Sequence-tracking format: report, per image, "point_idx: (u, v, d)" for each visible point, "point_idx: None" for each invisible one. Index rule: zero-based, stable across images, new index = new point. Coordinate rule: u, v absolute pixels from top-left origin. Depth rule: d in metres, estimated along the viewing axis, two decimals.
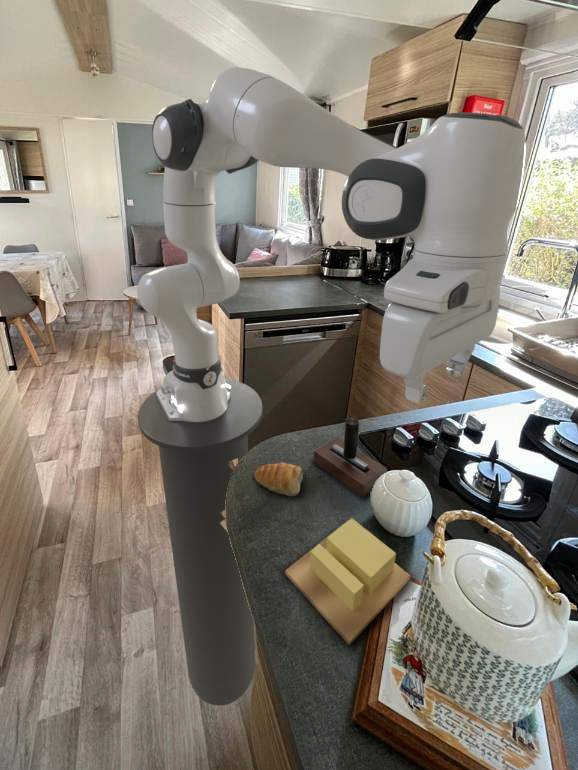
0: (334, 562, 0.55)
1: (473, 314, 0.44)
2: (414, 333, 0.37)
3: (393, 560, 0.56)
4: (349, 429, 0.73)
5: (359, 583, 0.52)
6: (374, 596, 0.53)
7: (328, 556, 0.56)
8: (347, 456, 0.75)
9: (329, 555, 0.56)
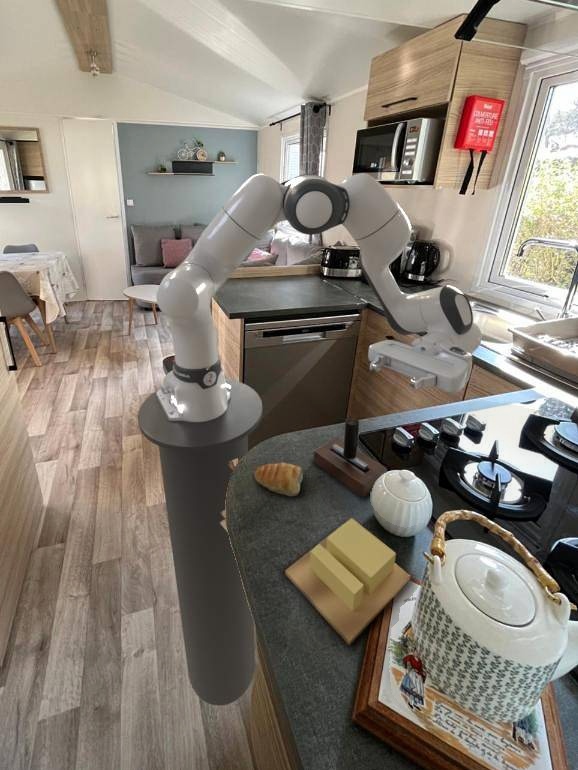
0: (334, 562, 0.55)
1: None
2: (465, 382, 0.75)
3: (393, 560, 0.56)
4: (349, 429, 0.73)
5: (359, 583, 0.52)
6: (374, 596, 0.53)
7: (328, 556, 0.56)
8: (347, 456, 0.75)
9: (329, 555, 0.56)
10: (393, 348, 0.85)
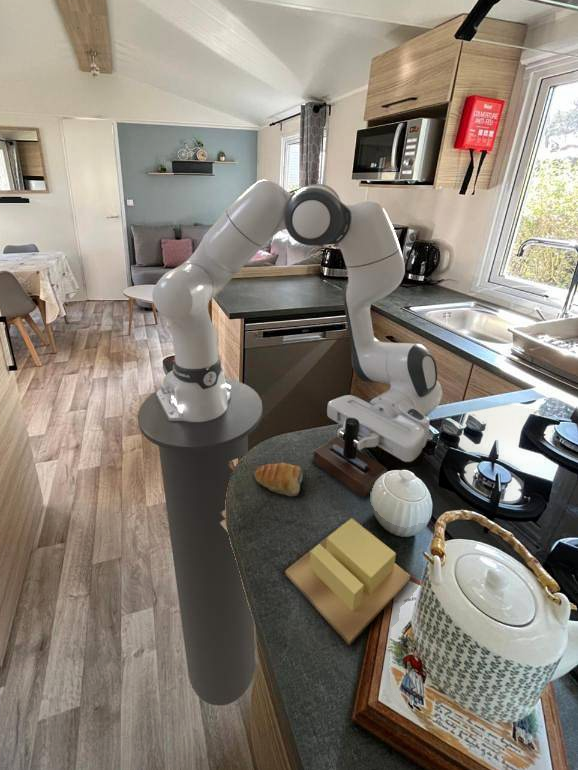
0: (334, 562, 0.55)
1: None
2: (421, 449, 0.73)
3: (393, 560, 0.56)
4: (349, 429, 0.73)
5: (359, 583, 0.52)
6: (374, 596, 0.53)
7: (328, 556, 0.56)
8: (347, 456, 0.75)
9: (329, 555, 0.56)
10: (352, 406, 0.82)
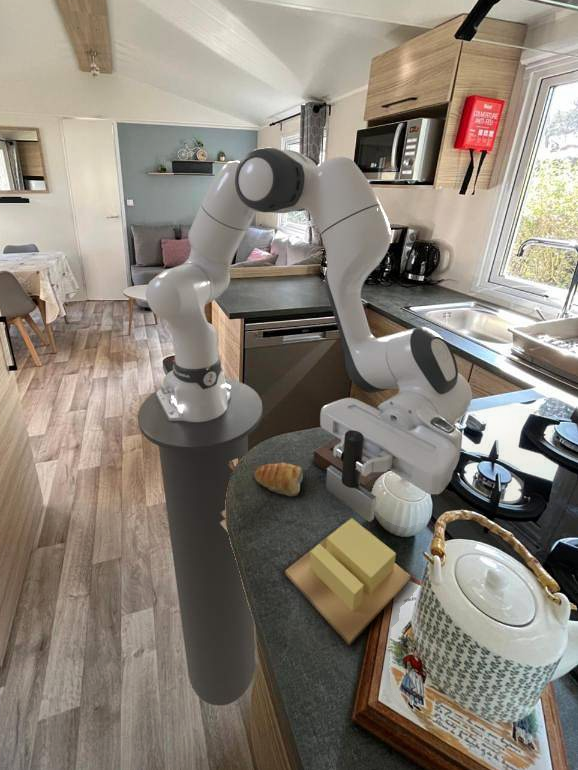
0: (334, 562, 0.55)
1: None
2: (451, 475, 0.52)
3: (393, 560, 0.56)
4: (350, 447, 0.52)
5: (359, 583, 0.52)
6: (374, 596, 0.53)
7: (328, 556, 0.56)
8: (347, 484, 0.54)
9: (329, 555, 0.56)
10: (353, 413, 0.61)
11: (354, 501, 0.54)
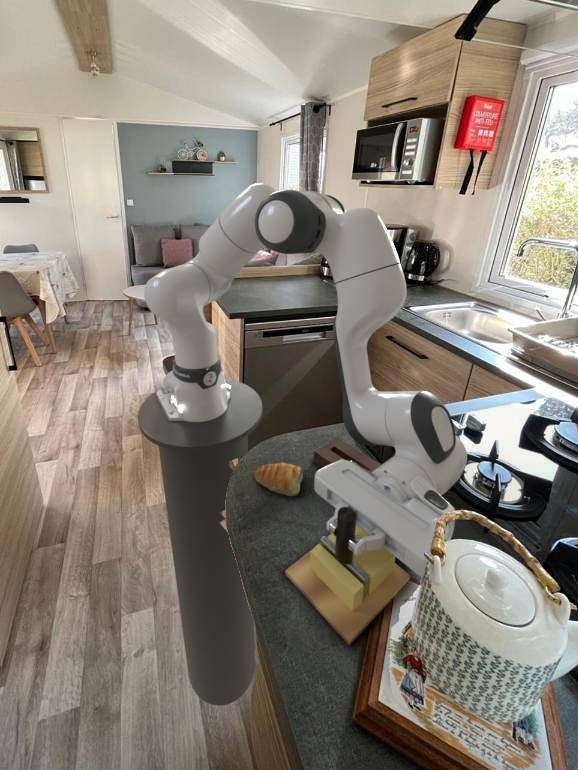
0: (334, 562, 0.55)
1: None
2: None
3: (393, 560, 0.56)
4: (343, 526, 0.51)
5: (359, 583, 0.52)
6: (374, 596, 0.53)
7: (328, 556, 0.56)
8: (340, 560, 0.54)
9: (329, 555, 0.56)
10: (347, 480, 0.60)
11: None
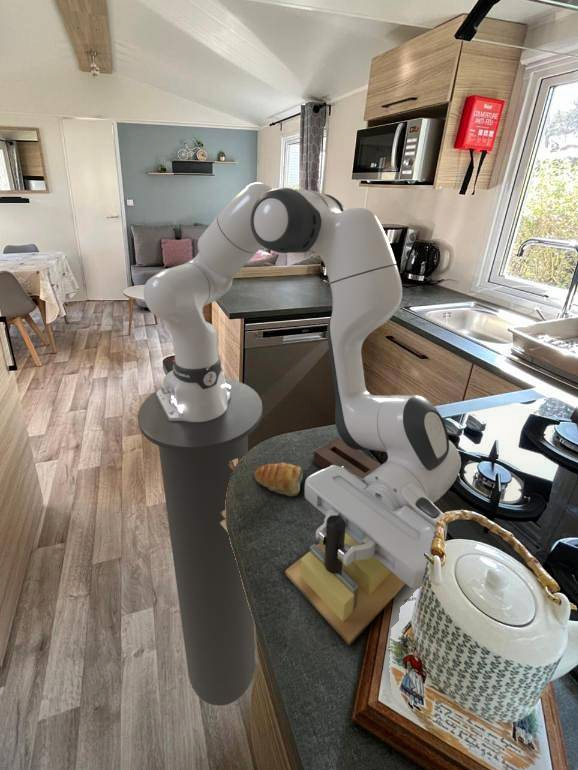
0: (324, 571, 0.53)
1: None
2: None
3: None
4: (331, 535, 0.50)
5: (349, 593, 0.51)
6: (374, 596, 0.53)
7: (318, 564, 0.54)
8: (329, 569, 0.52)
9: (320, 564, 0.54)
10: (338, 487, 0.59)
11: None
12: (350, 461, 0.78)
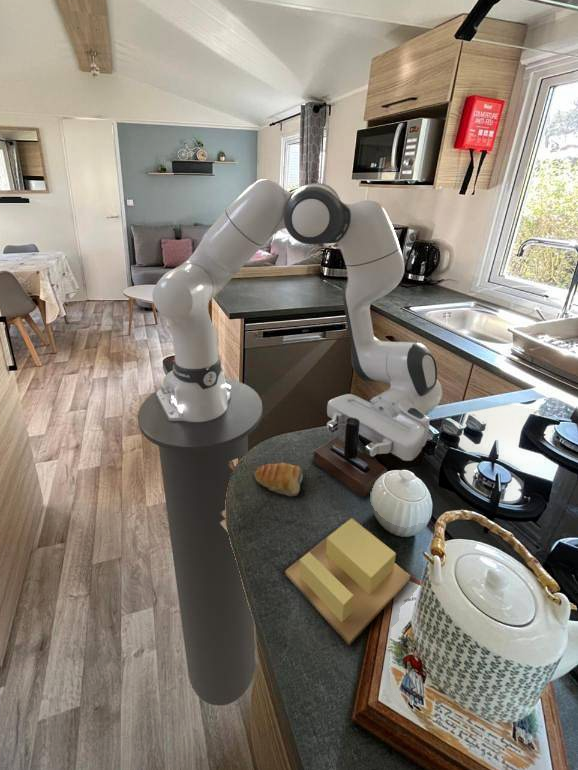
0: (324, 571, 0.53)
1: None
2: (421, 448, 0.73)
3: (393, 560, 0.56)
4: (350, 429, 0.73)
5: (349, 593, 0.50)
6: (374, 596, 0.53)
7: (318, 565, 0.54)
8: (348, 456, 0.75)
9: (319, 564, 0.54)
10: (352, 405, 0.82)
11: None
12: None
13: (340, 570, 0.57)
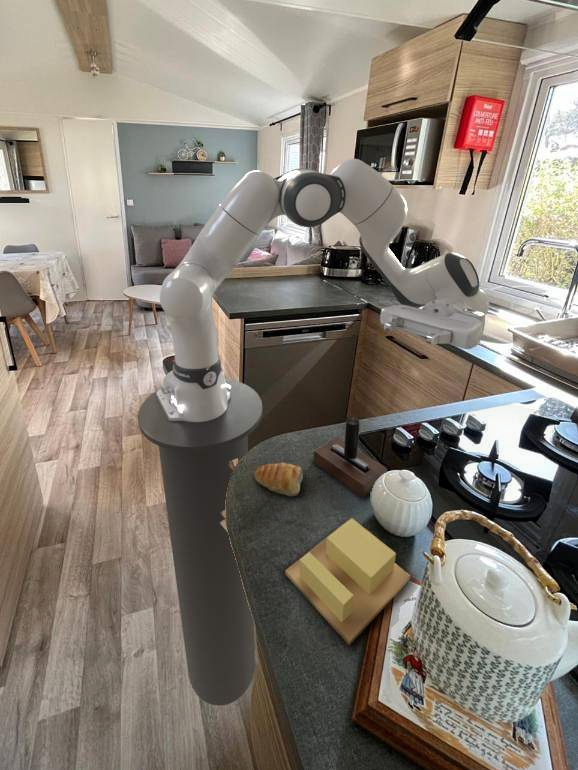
0: (324, 571, 0.53)
1: None
2: (478, 341, 0.76)
3: (393, 560, 0.56)
4: (350, 429, 0.73)
5: (349, 593, 0.50)
6: (374, 596, 0.53)
7: (318, 565, 0.54)
8: (348, 456, 0.75)
9: (319, 564, 0.54)
10: (406, 310, 0.85)
11: None
12: None
13: (340, 570, 0.57)
